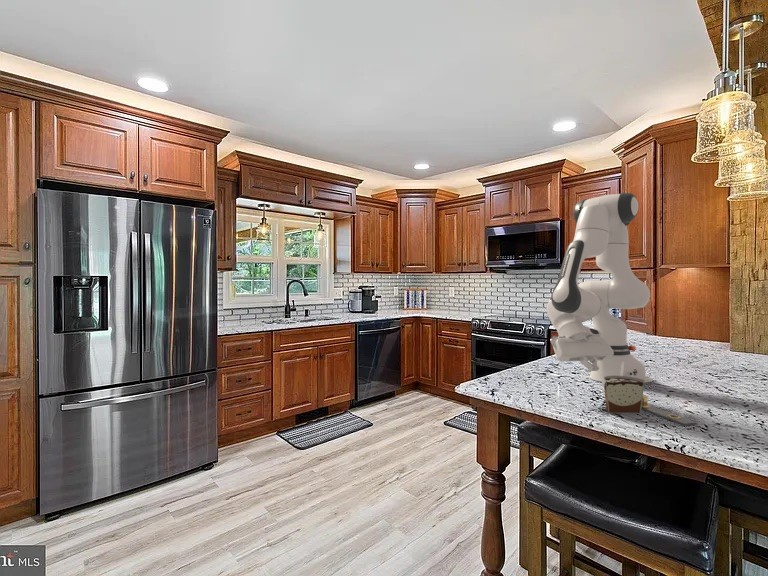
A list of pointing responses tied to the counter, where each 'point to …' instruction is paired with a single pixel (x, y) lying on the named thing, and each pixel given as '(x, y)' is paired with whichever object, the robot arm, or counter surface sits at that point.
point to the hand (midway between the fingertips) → (594, 370)
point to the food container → (623, 394)
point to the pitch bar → (665, 413)
